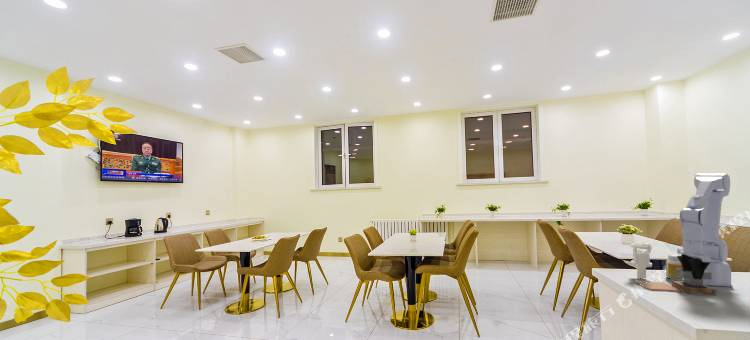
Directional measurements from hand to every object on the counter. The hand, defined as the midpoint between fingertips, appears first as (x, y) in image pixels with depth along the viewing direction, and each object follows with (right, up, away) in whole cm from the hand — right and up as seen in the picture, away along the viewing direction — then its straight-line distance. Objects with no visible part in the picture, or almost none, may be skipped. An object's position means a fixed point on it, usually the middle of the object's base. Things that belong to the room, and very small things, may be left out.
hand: (693, 277), depth 133 cm
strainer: (-8, -5, +16) cm, 18 cm away
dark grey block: (0, -5, 0) cm, 5 cm away
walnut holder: (0, -5, 0) cm, 5 cm away
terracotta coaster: (-10, -5, +4) cm, 12 cm away
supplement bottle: (+6, -6, +15) cm, 17 cm away
